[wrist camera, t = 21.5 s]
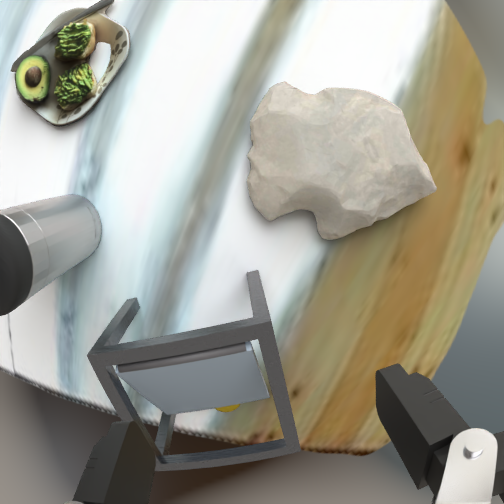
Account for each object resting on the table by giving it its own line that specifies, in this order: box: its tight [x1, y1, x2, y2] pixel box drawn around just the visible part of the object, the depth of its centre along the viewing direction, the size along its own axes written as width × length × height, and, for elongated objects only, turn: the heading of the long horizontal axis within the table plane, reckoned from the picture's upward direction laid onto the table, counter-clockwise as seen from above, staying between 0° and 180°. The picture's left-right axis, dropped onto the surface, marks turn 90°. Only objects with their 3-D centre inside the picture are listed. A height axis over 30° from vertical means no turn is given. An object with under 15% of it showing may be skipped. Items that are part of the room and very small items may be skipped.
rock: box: [247, 82, 437, 240], centre depth 37 cm, size 19×7×25 cm
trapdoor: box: [116, 341, 270, 415], centre depth 34 cm, size 14×14×1 cm
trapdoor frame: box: [87, 270, 301, 471], centre depth 38 cm, size 19×19×15 cm
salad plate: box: [11, 0, 130, 126], centre depth 32 cm, size 19×18×5 cm
